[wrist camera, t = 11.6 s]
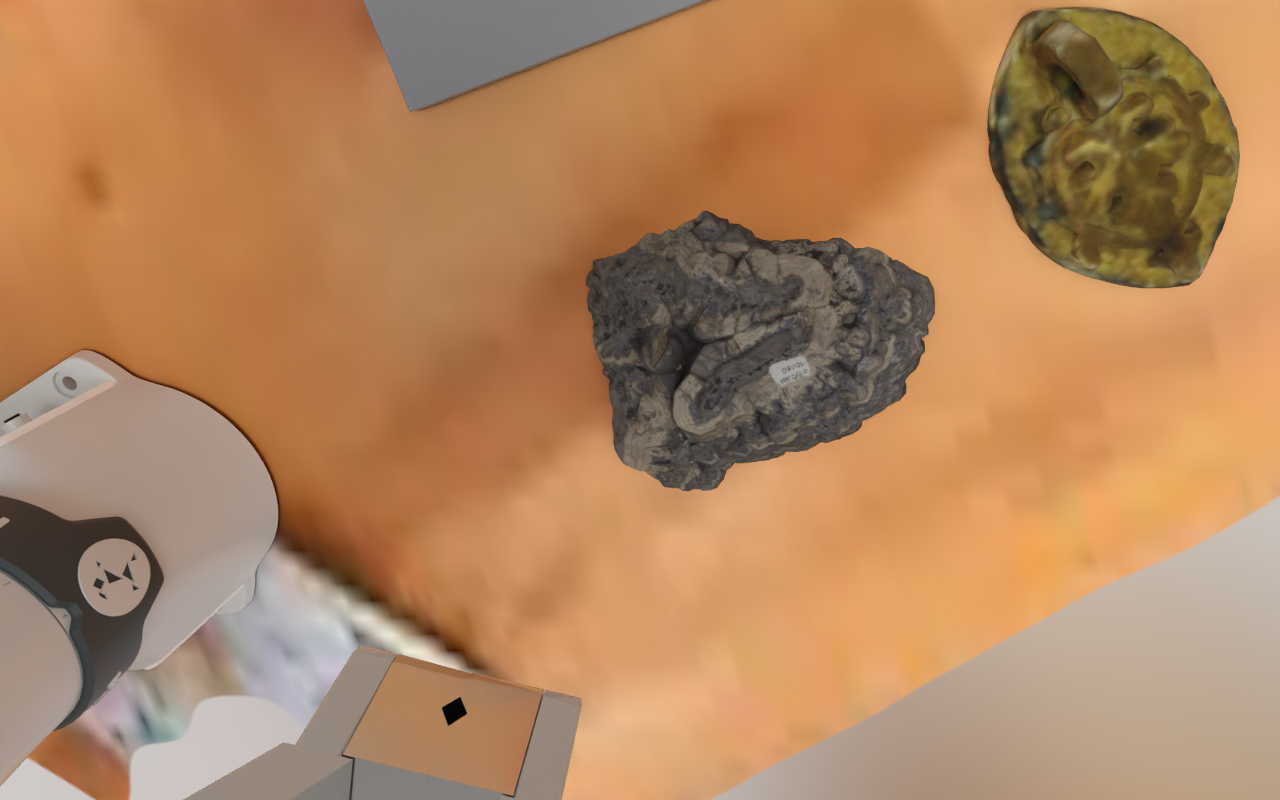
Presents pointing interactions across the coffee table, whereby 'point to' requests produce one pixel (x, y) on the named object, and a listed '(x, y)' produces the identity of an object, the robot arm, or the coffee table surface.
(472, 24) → the dial board
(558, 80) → the coffee table surface
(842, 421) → the fossil rock
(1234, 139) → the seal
